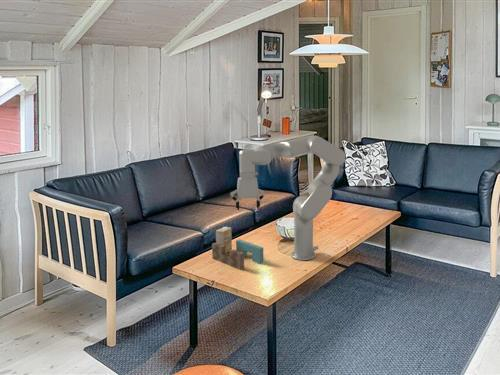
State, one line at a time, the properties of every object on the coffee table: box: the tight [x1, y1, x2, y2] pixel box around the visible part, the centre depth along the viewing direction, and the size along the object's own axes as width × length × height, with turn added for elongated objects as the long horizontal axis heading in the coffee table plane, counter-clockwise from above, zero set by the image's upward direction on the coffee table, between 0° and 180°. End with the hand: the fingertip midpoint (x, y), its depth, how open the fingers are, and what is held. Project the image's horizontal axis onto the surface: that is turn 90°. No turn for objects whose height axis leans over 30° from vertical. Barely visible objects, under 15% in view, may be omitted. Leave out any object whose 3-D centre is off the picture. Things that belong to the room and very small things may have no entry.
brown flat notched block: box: [211, 242, 245, 271], centre depth 252 cm, size 22×2×8 cm, turn 42°
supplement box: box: [215, 226, 233, 254], centre depth 267 cm, size 8×5×13 cm, turn 148°
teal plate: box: [235, 239, 264, 265], centre depth 257 cm, size 18×2×8 cm, turn 42°
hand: (248, 209), depth 249 cm, fingers open, 9 cm apart
